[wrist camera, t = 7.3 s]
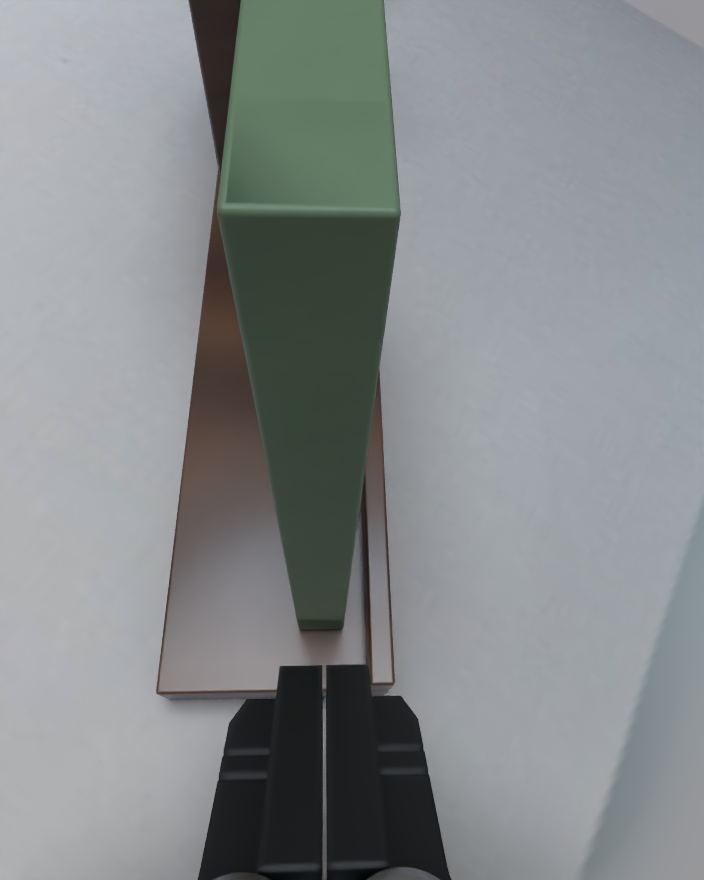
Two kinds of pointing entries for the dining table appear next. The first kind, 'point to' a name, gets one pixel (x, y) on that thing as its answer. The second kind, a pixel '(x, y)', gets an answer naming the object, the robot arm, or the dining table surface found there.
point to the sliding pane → (312, 265)
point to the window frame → (252, 497)
